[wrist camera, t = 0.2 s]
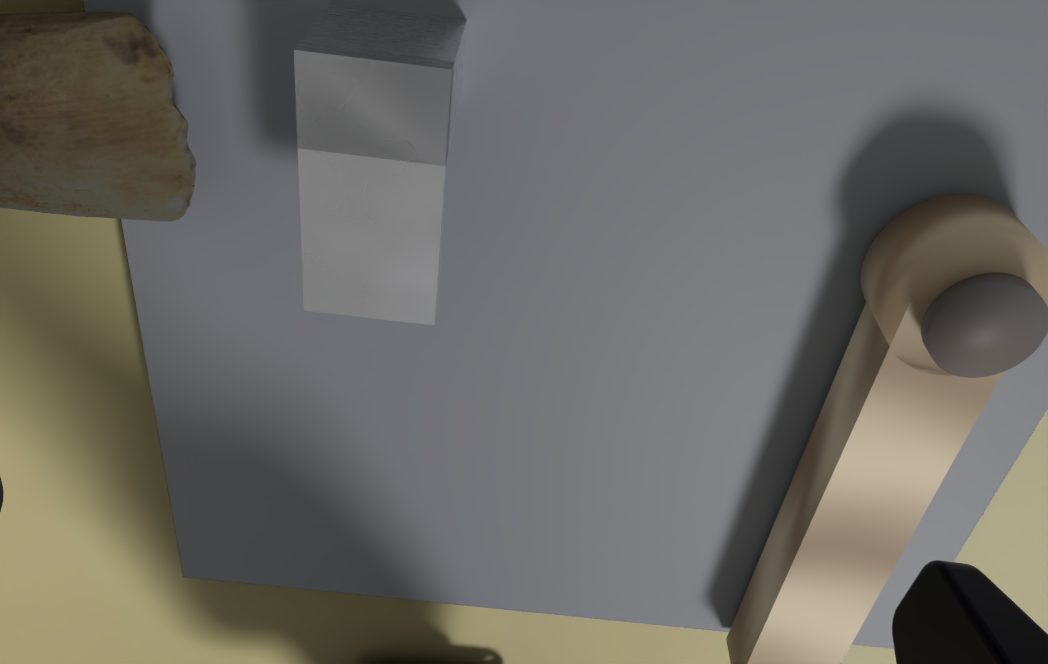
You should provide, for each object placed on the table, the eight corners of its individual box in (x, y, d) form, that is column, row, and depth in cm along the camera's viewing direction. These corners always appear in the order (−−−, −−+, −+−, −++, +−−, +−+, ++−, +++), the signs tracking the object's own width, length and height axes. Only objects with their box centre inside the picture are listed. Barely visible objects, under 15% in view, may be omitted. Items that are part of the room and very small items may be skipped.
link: (892, 183, 21) (937, 246, 18) (1053, 202, 21) (1118, 268, 19) (712, 634, 31) (725, 714, 29) (820, 646, 32) (843, 725, 29)
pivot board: (891, 625, 33) (899, 649, 32) (193, 554, 32) (183, 576, 31) (1322, -106, 18) (1357, -98, 17) (59, -282, 17) (33, -282, 16)
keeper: (449, 252, 23) (434, 325, 20) (333, 239, 23) (303, 310, 20) (467, 19, 19) (451, 69, 17) (330, 2, 19) (293, 49, 16)
